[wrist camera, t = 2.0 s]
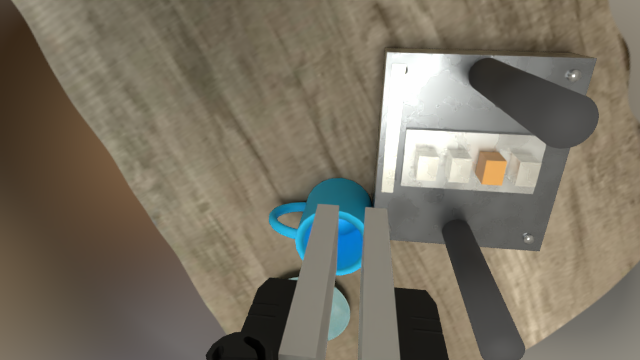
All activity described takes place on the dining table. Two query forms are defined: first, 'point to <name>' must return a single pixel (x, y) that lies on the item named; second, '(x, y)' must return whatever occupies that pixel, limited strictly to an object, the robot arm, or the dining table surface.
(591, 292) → the dining table surface
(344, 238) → the mug
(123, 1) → the dining table surface
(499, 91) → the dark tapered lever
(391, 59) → the breaker panel
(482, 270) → the dark grey upright post
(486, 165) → the orange cube
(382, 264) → the robot arm
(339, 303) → the saucer
